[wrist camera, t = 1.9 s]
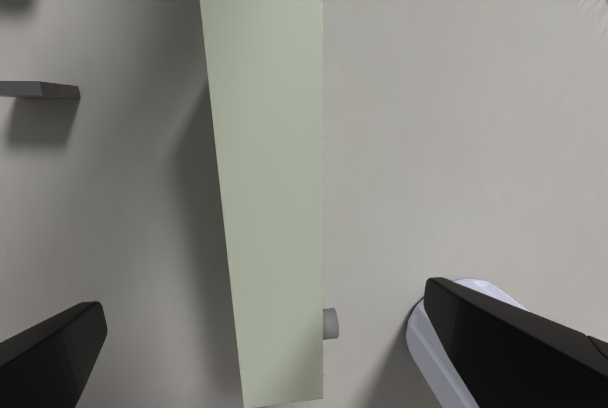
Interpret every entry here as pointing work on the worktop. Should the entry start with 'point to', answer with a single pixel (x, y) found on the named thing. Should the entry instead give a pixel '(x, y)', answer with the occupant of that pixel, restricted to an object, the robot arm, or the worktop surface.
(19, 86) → the cabinet
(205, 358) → the worktop surface
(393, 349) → the worktop surface
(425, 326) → the soap bottle
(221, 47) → the rectangular block
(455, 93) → the worktop surface
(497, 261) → the worktop surface
